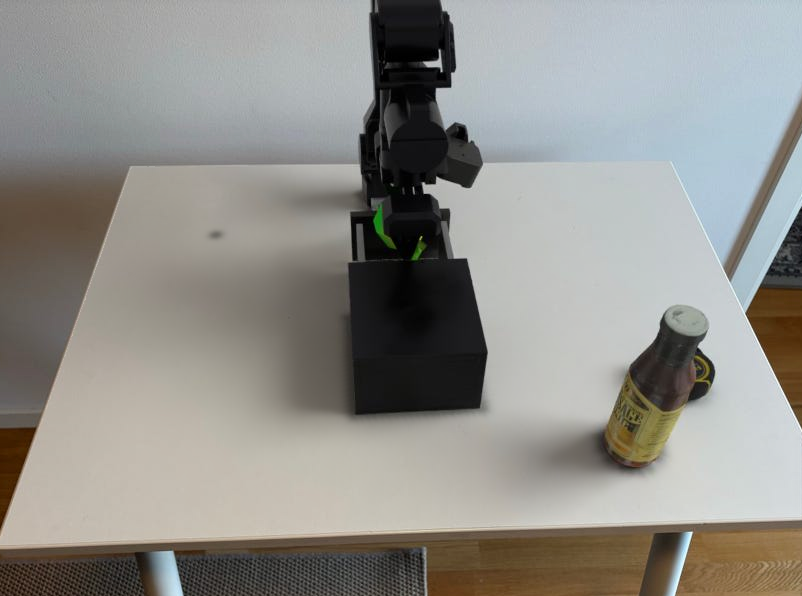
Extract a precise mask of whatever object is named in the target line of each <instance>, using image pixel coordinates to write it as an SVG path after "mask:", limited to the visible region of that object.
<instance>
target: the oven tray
mask: <svg viewBox="0 0 802 596" xmlns="http://www.w3.org/2000/svg"><path fill="white" fill-rule="evenodd" d="M385 199H386V198H371V207H372V210H374V211H371V210H356V211H355V210H352V211H351V210H350V212H349V219H350V221H349V222H350V239H351V240H350V241H351V262H376V261H403V259H402V258H401V256H400V254H399V252H398V250H397V249H393V248H389V247H388V246H387V245H386V244H385V242H384V241H383V240H382V239H381V237H380V236H379V235H378V234H377V232H376V229H375V225H374V221H373V220H374V218H375V215H376V213H377V211H378V209H379V207H380V204H381V203H382V201H383V200H385ZM439 209H440V214H441V232H440V233H439V234H438V235H436V236H422V238H421V241H422V242H423V243H424V244H426V245H427V246H426V247H425V249H424V250H422V253H421V256H420V258H419V259H418V260H430V259H455V257H454V252H453V251H454V250H453V246H452V243H451V236H450V228H451V227H450V226H451V209H450V207H447V208H446V207H443V208H440V207H439Z"/></svg>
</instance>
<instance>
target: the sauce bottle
mask: <svg viewBox="0 0 802 596" xmlns="http://www.w3.org/2000/svg"><path fill="white" fill-rule="evenodd" d="M709 328H710V322H709V320H708V317H707V316H706V315H705V313H704V312H702V311H701V310H700V309H698V308H695V307H693V306H691V305H687V304H675V305H671V306H669V307H668V308H666V310H665V311H664V312H663V314H662V316H661V318H660V321H659V328H658V332H657V333H656V336H655V338H654V340H653V341H652V342H651V344H649V345H648V346H647V347H646V348H645V349H644V350H643V351H642V352H641V353H640V355H639V356H637V358H636V359H635V360H633V362H631V363H630V365H629V367H628V369H627V372H626V374H625V376H624V381H623V382H622V385H621V387H620V390H619V392H618V396H617V398H616V401H615V403H614V406H613V408H612V411H611V414H610V416H609V418H608V421H607V424H606V427H605V434H604V439H603V441H604V447H605V450H606V451H607V452H608V454H609V455H610V456H611V458H613V460H614V461H616V462H617V463H618V464H621V465H622V466H628V467H631V468H643V467H647V466H648V465H651V464H652V463H653V462H655V461H656V460H657V459H658V458H659V457H660V455H661V453H662V452H663V449H664V448H665V446H666V444H667V442H668V440H669V438H670V436H671V434H672V432H673V430H674V428H675V426H676V424H677V422H678V420H679V418H680V416H681V414H682V412H683V410H684V408H685V406H686V404H687V402H688V401H687V400H688V396H689V393H690V391H691V390H692V388H693V386H694V383H695V379H696V368H695V365H694V359H693V358H694V356H695V351H696V349H697V347H698V348H699V345H700V344H701V342H703V341H704V339H705V338H706V336H707V333H708V331H709Z"/></svg>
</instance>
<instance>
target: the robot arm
mask: <svg viewBox="0 0 802 596" xmlns="http://www.w3.org/2000/svg"><path fill="white" fill-rule="evenodd" d="M369 3H370V12H368V37H369V50H370V51H369V52H370V62H371V73H372V92H373V94H372V95H373V99H372V101H371V103H370V104H369V106H368V109H367V110H366V112H365V114H364V115H363V117H362V127H363V128H362V129H363V132H362V133H358V141H357V153H358V164H359V172H360V176H361V197H362V200H363V202H364V204H365V205H366V207H368V208H369V211H374V210H372V207H371V198H386V199H385V200H383V201H382V223H383V233H384V235H386V236H388V237H390V238H391V240H392V242H393V243H394V245H395V247H396V249H397V250H398V252H399V254H400V256H401V258H402V259H401V260H411V259H412V258H413V255H414V253H415V250H416V247H417V245H418V242H419V240H420V238H421V236H436V235H438V234H439V233H440V232H441V214H440V203H439V200H438V199H437V198H436V197H435V196H434V195H432V194H431V193H425V191H424V186H423V185H426V186H431V185H435V186H436V185H437V178H438V179H440V180H442V181H445V182H449V183H453V184H456V185H459V186H461V188H464V189H471V188H472V187H473V185H474V183H475V181H476V179H477V177H478V176H479V173H480V171H481V169H482V167H483V166H484V161H483V158H482V154H481V150H480V148H479V147H478V146H477V145H476V143H475V141H474V140H472V139H471V140H470V141H469V132H468V128H467V125H465V124H464V123H459V122H457V121H455V122H453V123H451V125H449V126H448V128H446V126H445V124H444V121H443V117H442V113H441V109H440V107H439V104H438V101H437V89H451V88H452V86H453V85H452V74H454V73H455V72H456V70H457V56H456V44H455V30H454V28H455V27H454V24H453V22H452V21H451V16H450V14H449V12H448V11H447V10H443V5H442V1H441V0H370V1H369ZM439 60H440V61H441V67H440V66H427V64H426V63H432V62H434V63H435V62H438V61H439ZM423 183H424V184H423Z"/></svg>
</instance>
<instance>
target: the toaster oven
mask: <svg viewBox="0 0 802 596" xmlns="http://www.w3.org/2000/svg"><path fill="white" fill-rule="evenodd" d="M429 259H430V260H403V259H402V260H403V261H379V260H375V261H376V262H358V261H351V262H347V274H348V294H349V295H348V298H349V314H350V337H351V356H352V376H353V379H352V381H353V397H354V398H353V399H354V415H356V416H358V415H377V414H394V413H395V414H396V413H411V412H412V413H413V412H432V411H450V410H466V409H467V410H468V409H469V410H470V409H480V408H481V405H482V404H481V403H482V397H483V389H484V383H485V376H486V369H487V363H488V355H489V351H488V350H489V349H488V346H487V342H486V337H485V332H484V327H483V324H482V319H481V315H480V309H479V305H478V302H477V297H476V293H475V287H474V283H473V278H472V275H471V269H470V266H469V261H468V258H467V257H459V258H458V257H457V258H454V259H432V258H429Z"/></svg>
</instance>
